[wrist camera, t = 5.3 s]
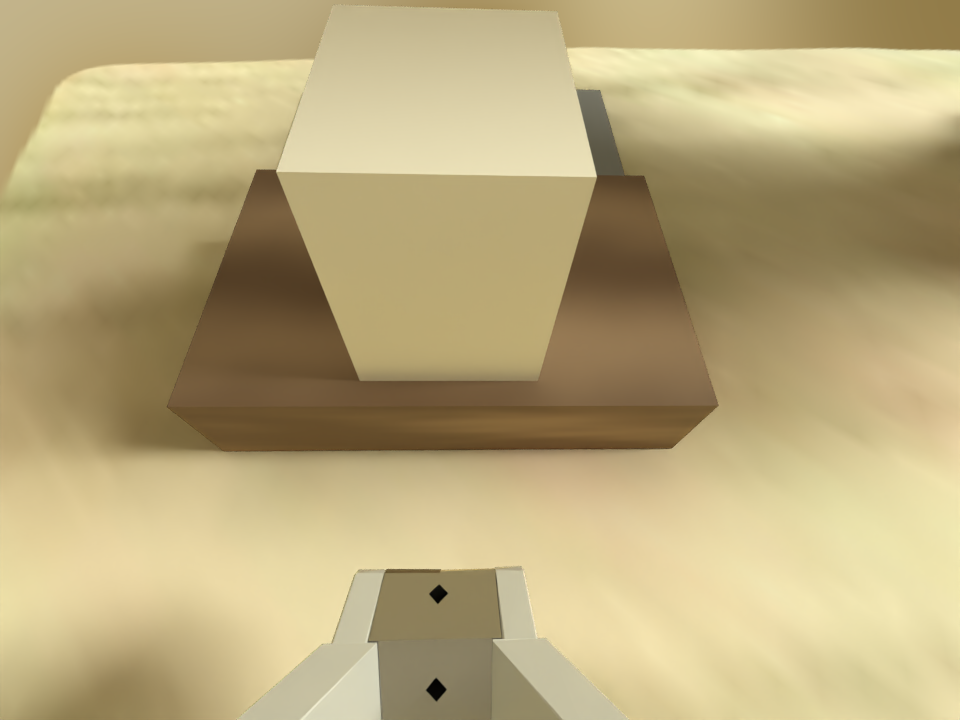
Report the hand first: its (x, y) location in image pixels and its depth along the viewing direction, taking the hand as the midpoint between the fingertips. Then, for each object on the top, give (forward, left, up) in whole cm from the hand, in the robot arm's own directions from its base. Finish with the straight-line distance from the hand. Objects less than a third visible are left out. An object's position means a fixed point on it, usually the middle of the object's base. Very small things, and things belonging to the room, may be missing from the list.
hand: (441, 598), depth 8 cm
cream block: (-7, -7, -4) cm, 11 cm away
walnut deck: (-8, -8, -8) cm, 14 cm away
